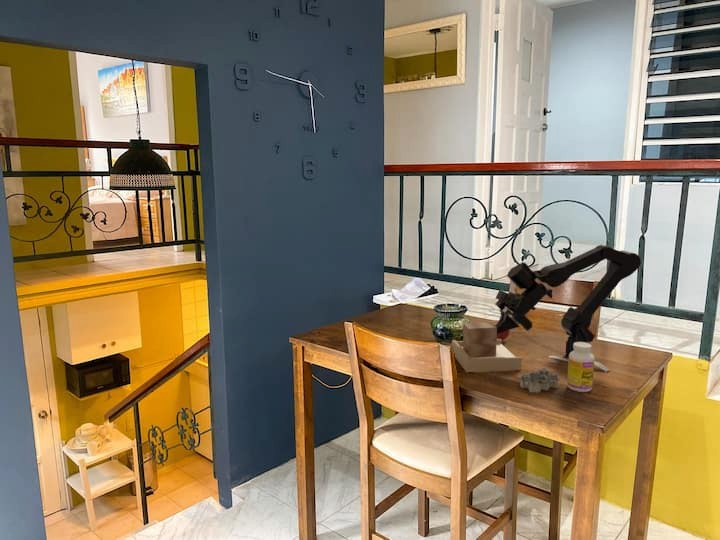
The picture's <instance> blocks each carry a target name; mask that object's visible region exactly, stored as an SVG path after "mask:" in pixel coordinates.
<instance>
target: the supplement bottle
mask: <svg viewBox="0 0 720 540" xmlns="http://www.w3.org/2000/svg"><path fill="white" fill-rule="evenodd" d="M592 346H593V345H592V344H591V343H590V344H589V343H585V342H575V343H574V344H573V349H574V351H572V352H571V353H570V354H569V357H568V360H569V362H568V364H567V365H568V366H567V380H566V382H567V383H566V386H567V387H568V388H569V389H570V390H571V391H575V392H579V393H588V392H591V391H592V390H593V385H594V372H595V371H594V370H595V369H594V368H595V365H594V361H595V355H594V354H593V353H592V352H591V351H592Z"/></svg>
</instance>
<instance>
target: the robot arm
mask: <svg viewBox="0 0 720 540" xmlns="http://www.w3.org/2000/svg"><path fill="white" fill-rule="evenodd" d="M605 260H607V261H609V262H608V268H607V271H606V273H605V274H604V275H603V276H602V278H601V279H600V280H599V281H598V283H597V284H596V285H595V287H593V289H592V290H591V291H590V293H589V294H588V295H587V296H586V298H585V299H584V300H583V301H582V303H580V305H579V306H577V307H575V308H574V307H572V306H570V307H569V308H568V309H567V311H566V312H565V313H564V314H562V319H561V321H560V322H561V327H562V329H563V330H564V331H565V334H566V335H567V336H568V337H567V340H566V341H565V354H564V357H566V358H569V354H570V353H571V352H572V351H574V349H573V344H574V343H575V342H585V343H589V344H591V342H593V341H594V338H595V334H594V333H593V332H592V331H591V330H590V329H589V328H590V326H591V324H592V320H593V315H594V314H595V313H596V312H597V310H598V309H599V308H600V306H601V305H602V304H603V303H604V302H605V300H606V299H608V297H609V296H610V294H611V293H612V292H613V291H614V290H615V288H616V287H617V286H618V285H619V284H620V282H621V281H622V280H624V279H626V278H628V277H630V276H631V275H632V274H634V273H635V272H636V271H637V270H638V269H639V268H640V266H641V265H642V262H641V261H642V260H641V258H640V256H639V254H637V253H635V252H630V251H627V250H617V249H614V248H612V247H610V246H607V245H604V244H599V245H597V246H596V247H594V248H592V249H590V250H588V251H585V252H584V253H582V254H579V255H577V256H575V257H573V258H571V259H568V260H567V261H564V262H559V263H554V264H550V265H546V266H544V267H542V268H540V269H539V270H534V271H533V270H532V269H531V268H530V267H529V265H528V264H527V263H526V262H524V261H521V262H520V264H517V265H515V266H513V267H511V269H510V270H509V271H508V272H507V275H506V277H507V278H508V279H509V280H510V281H511V282H512V283H513V284H514V285H515V286H516V287H517V288H518V289H519V290H522V292H521V293H519V292H517V293H514V292H512V291H510V292H507V291H504V290H502V289H499V290H498V292H497V294H496V297H495V299H496V300H497V301H496V302H495V303H494V304H495V306H496V307H497V308H498V309H499V312H500V317H499V320H498V322H497V323H496V324H497V325H496V324H495V325H496V327H497V334H499V333H502V332H505V331H507V330H510V331H511V330H513V329H514V330H515V329H516V328H521V327H520V326H519V325H521V326H522V327H523V329H524V330H525V331H527V332H529V331H530V330H531V329H532V328H533V322H532V321H531V320H530V319H529V318H528V317H527V316H526V315H527V314H528V313H530V311H531V310H532V311H535V310H536V307H535V306H537V304H538V303H540V301H542V300H543V298H544V297H545V296H546V297H547V298H550V299H553V289H551V288H558V287H559V286H561V285H563V284H564V283H566V282H567V281H568V280H569V279H570V277H572V276H573V275H575V274H576V273H578V272H581V271H584V270H586V269H587V268H589V267H591V266H594V265H596V264H598V263H599V262H602V261H605ZM536 280H537V281H539V282H537V281H536ZM545 285H547V286H548V287H550V288H547V286H545ZM523 289H524V290H523Z"/></svg>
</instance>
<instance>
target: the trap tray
mask: <svg viewBox="0 0 720 540" xmlns="http://www.w3.org/2000/svg"><path fill="white" fill-rule="evenodd" d="M502 342H503V341H502V340H501V339H497V342H496V356H494V357H474V358H470V357H469V356H468V354H467V353H466V352H465V351H464V350H463V340H459V341H458V340H456V339H452V341H451V347H452V346H453V349H454V353H455V357H454V358H455V359H456V361H457V362H458V363H459V364H460V366H461V367H462V368H463V370H464V371H465V372H466V373H467V374H469V373H468V372H475V373H489V372H490V373H492V371H493V372H509V371H512V372H513V371H521V370H522V356H515V355H514V354H513V353H512V352H511V351H510V350H509V349H508V348H506V346H504V345H503V344H502Z"/></svg>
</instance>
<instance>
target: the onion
mask: <svg viewBox="0 0 720 540" xmlns="http://www.w3.org/2000/svg"><path fill="white" fill-rule="evenodd" d="M496 325H497V323H496V324H495V326H496ZM510 333H511V329H510V330H507V331H505V332H502V333H499V334H497V339H501V340H502V342H503V341H504V340H506V339H507V338H509V336H510Z"/></svg>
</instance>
